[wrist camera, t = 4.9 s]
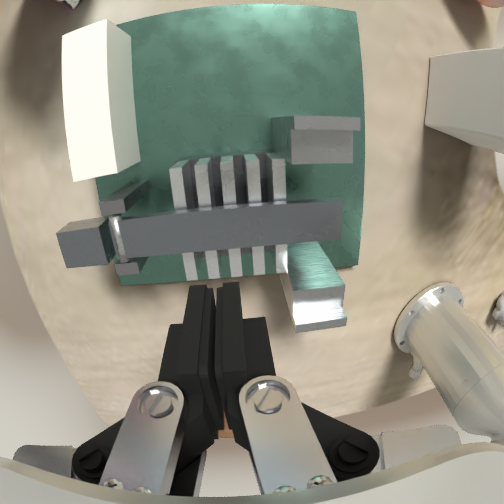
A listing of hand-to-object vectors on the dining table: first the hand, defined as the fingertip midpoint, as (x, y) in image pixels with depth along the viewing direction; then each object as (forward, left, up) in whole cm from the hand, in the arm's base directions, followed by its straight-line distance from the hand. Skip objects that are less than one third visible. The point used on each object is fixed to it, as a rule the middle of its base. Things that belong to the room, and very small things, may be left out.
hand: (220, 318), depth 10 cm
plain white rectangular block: (+10, +10, -18) cm, 23 cm away
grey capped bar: (-1, +2, -13) cm, 13 cm away
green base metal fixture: (+5, 0, -19) cm, 20 cm away
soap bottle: (+10, -26, -19) cm, 34 cm away
